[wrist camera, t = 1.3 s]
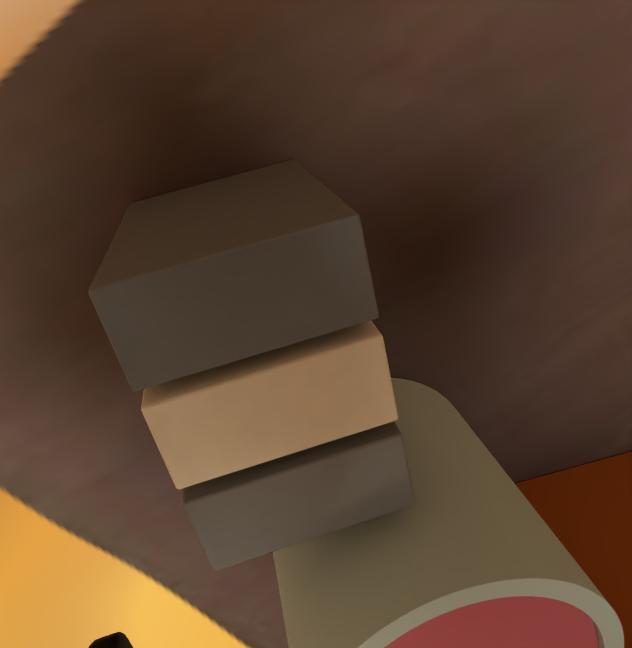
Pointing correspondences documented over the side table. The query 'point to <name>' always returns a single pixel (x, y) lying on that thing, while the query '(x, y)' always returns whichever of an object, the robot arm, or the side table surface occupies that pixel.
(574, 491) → the alarm clock
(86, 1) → the side table surface
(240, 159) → the side table surface
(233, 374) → the tan flat block
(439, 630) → the mug
